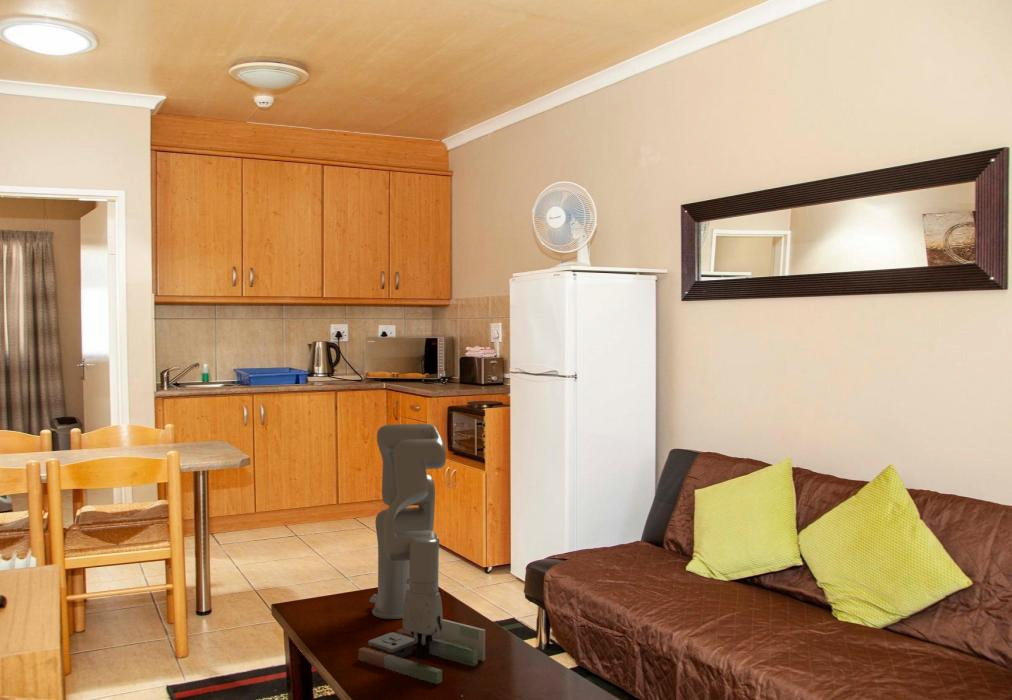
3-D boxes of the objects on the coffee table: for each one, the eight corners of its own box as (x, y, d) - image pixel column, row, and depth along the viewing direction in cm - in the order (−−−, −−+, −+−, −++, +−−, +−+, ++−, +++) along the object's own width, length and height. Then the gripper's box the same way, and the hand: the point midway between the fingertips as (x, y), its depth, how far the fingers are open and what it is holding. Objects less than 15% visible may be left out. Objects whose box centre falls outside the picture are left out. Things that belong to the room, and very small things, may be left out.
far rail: (396, 644, 234) (396, 630, 234) (401, 642, 236) (401, 628, 236) (473, 666, 219) (473, 650, 219) (477, 664, 221) (477, 648, 221)
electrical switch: (392, 649, 220) (367, 635, 226) (389, 668, 221) (365, 653, 227) (418, 639, 228) (393, 625, 233) (415, 658, 229) (390, 643, 234)
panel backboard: (406, 640, 238) (407, 611, 238) (409, 639, 238) (409, 610, 238) (482, 661, 223) (483, 630, 223) (485, 660, 224) (485, 629, 224)
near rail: (358, 660, 222) (358, 649, 222) (363, 658, 224) (363, 647, 224) (436, 684, 208) (436, 672, 207) (441, 682, 209) (442, 669, 209)
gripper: (391, 584, 222) (391, 656, 222) (436, 595, 213) (435, 669, 213) (411, 578, 228) (410, 647, 228) (455, 588, 219) (454, 660, 219)
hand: (422, 657), depth 221 cm, fingers closed
